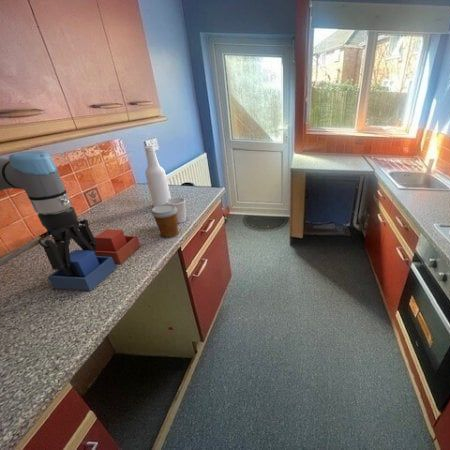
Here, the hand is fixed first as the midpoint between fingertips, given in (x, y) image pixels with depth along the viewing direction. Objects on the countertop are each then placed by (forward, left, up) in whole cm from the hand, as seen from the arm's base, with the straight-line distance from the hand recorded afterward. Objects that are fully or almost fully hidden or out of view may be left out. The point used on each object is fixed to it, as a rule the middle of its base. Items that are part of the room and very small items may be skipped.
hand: (85, 275), depth 79 cm
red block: (0, +13, 0) cm, 14 cm away
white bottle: (-6, +57, -1) cm, 58 cm away
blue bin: (0, 0, -1) cm, 1 cm away
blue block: (0, 0, 0) cm, 0 cm away
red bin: (0, +13, -1) cm, 14 cm away
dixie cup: (+10, +42, -1) cm, 43 cm away
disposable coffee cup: (+12, +29, -1) cm, 32 cm away
